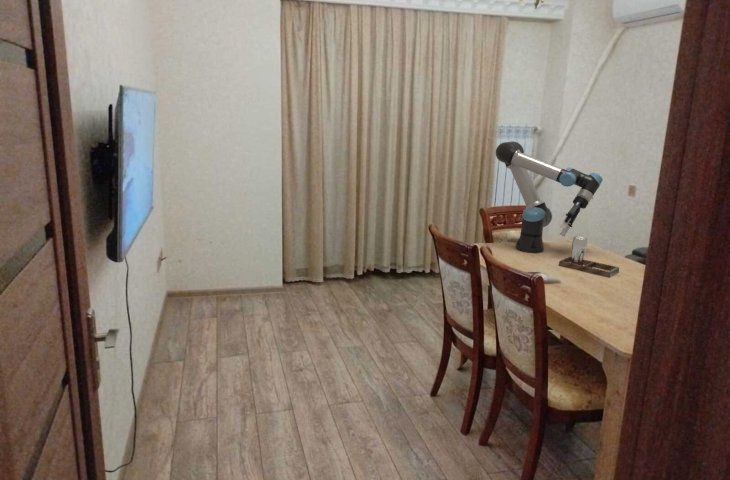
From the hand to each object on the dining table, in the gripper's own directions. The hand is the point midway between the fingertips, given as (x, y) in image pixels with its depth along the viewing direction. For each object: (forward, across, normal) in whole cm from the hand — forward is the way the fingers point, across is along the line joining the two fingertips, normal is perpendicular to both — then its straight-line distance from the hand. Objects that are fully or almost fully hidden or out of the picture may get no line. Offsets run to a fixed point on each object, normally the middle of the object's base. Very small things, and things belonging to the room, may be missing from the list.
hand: (562, 231), depth 278 cm
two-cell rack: (+14, -10, -22) cm, 28 cm away
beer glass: (+15, -8, -16) cm, 24 cm away
